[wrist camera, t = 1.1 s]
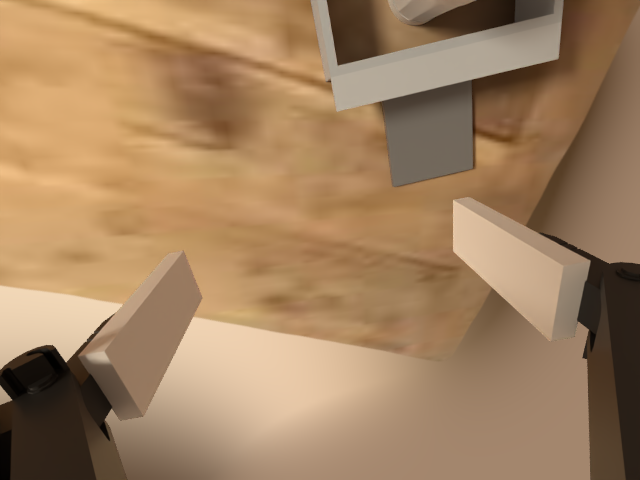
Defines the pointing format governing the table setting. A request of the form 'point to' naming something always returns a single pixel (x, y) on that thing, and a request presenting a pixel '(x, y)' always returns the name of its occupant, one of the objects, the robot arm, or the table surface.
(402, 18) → the cup
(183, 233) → the table surface
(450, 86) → the pad
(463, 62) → the rectangular frame
